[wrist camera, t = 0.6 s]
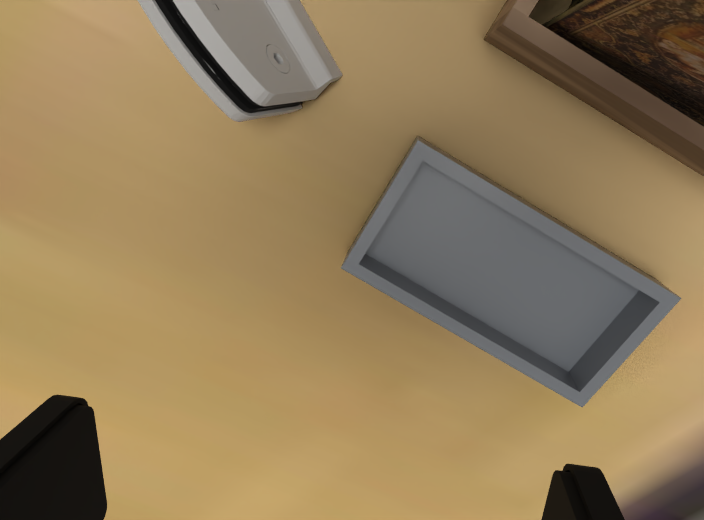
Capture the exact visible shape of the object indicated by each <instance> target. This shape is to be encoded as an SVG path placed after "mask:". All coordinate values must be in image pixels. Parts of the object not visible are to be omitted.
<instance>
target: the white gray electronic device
mask: <svg viewBox="0 0 704 520" xmlns="http://www.w3.org/2000/svg"><path fill="white" fill-rule="evenodd" d="M138 2H139V3H140V5H141V7H142V8H143V10H144V12H145V13H146V15H147V17H148V18H149V20H150V21H151V23H152V25H153V26H154V28H155V29H156V30H157V32H158V33H159V35H160V36H161V38H162V39H163V41H164V42H165V44H166V45H167V46H168V48H169V49H170V50H171V52H172V53H173V54H174V56H175V57H176V58H177V60H178V61H179V62H180V63H181V65H182V66H183V67H184V69H185V70H186V71H187V72H188V74H189V75H190V76H191V77H192V78H193V80H194V81H195V82H196V83H197V84H198V85H199V87H200V88H201V89H202V90H203V91H204V92H205V93H206V94H207V95H208V96H209V98H210V99H211V100H212V101H213V102H214V103H215V104H216V105H217V106H218V107H219V108H220V109H221V110H222V111H223V112H224V113H225V114H226V115H227V116H228V117H229V118H231V119H232V120H234V121H237V122H241V121H247V120H253V119H258V118H264V117H270V116H276V115H281V114H287V113H291V112H294V111H297V110H299V109H302V106H301V104H302V103H303V102H302V101H308V100H314V99H316V98H317V97H318V96H319V95H320V93H321V92H322V91H323V90H324V89H325V88H326V87H327V86H328V85H329V84H330V83H331V82H334V81H337V80H338V79H339V78H340V77H342V76H343V75H342V73H341V71H340V69H339V68H338V66H337V64H336V63H335V61H334V59H333V57H332V56H331V54H330V52H329V50H328V49H327V47H326V45H325V43H324V42H323V40H322V38H321V37H320V35H319V33H318V31H317V30H316V28H315V26H314V24H313V23H312V21H311V19H310V17H309V16H308V14H307V12H306V10H305V9H304V7H303V5H302V4H301V2H300V0H138Z"/></svg>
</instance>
